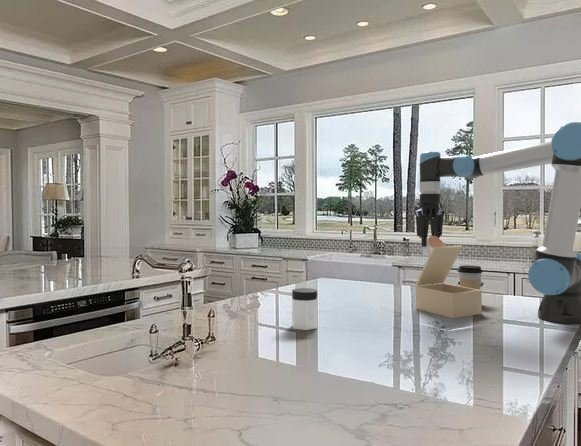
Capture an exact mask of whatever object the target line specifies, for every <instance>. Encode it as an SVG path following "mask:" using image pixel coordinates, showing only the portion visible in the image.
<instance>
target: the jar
mask: <svg viewBox="0 0 581 446" xmlns="http://www.w3.org/2000/svg"><path fill="white" fill-rule="evenodd" d="M318 305H319V303H318V290H317V289H316V288H311V287H310V288H309V287H307V288H306V287H302V288H300V287H299V288H293V289H292V290H291V316H292V317H291V326H292V329H294V330H299V331H310V330H311V331H312V330H316V329H318V328H319V327H318V326H319V325H318V323H319V322H318V319H319V318H318V317H319V316H318V307H319V306H318Z"/></svg>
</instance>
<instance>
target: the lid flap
mask: <svg viewBox="0 0 581 446" xmlns="http://www.w3.org/2000/svg"><path fill="white" fill-rule="evenodd" d="M428 238H429V247H430V246H431V247H432V248H433V249H432V251H431V254H430V253H429V256H428V258H427V260H426V262H425V263H424V266H423V268H422V270H421V272H420V274H419V277H418V278H417V280H416V283H415V285H416V286H423V285H433V284H442V283H445V281H446V279H447V277H448V275H449V274H450V272H451V270H452V267H453V265H454V264H455V262H456V260H457V258H458V256H459V254H460V253H461V251H462V248H463V245H459V244H458V245H448V246H447V245H446V244H445V242H443V241H442V239H440V238H438V237H437V236H432V235H430V236H429V237H428Z"/></svg>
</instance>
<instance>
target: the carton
mask: <svg viewBox="0 0 581 446" xmlns="http://www.w3.org/2000/svg"><path fill="white" fill-rule="evenodd" d="M482 294H483V293H482V290H481V289H480V290H477V289H472V288H466V287H461V286H460V285H455V284H450V283H445V282H444V283H438V284H428V285H419V286H416V287H415V309H416V310H419V311H423V312H426V313H431V314H434V315H439V316H442V317H447V318H450V319H458V318H465V317H471V316H477V315H482V310H483V309H482V306H483V305H482V304H483V303H482V296H483V295H482Z"/></svg>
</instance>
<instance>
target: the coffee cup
mask: <svg viewBox="0 0 581 446" xmlns="http://www.w3.org/2000/svg"><path fill="white" fill-rule="evenodd" d="M457 272H458V273H459V286H461V287H466V288H472V289H477V290H481V286H482V285H481V284H482V283H481V282H482V274H483V269H482V267H481V266H479V265H468V264H466V265H459V268H457Z"/></svg>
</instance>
